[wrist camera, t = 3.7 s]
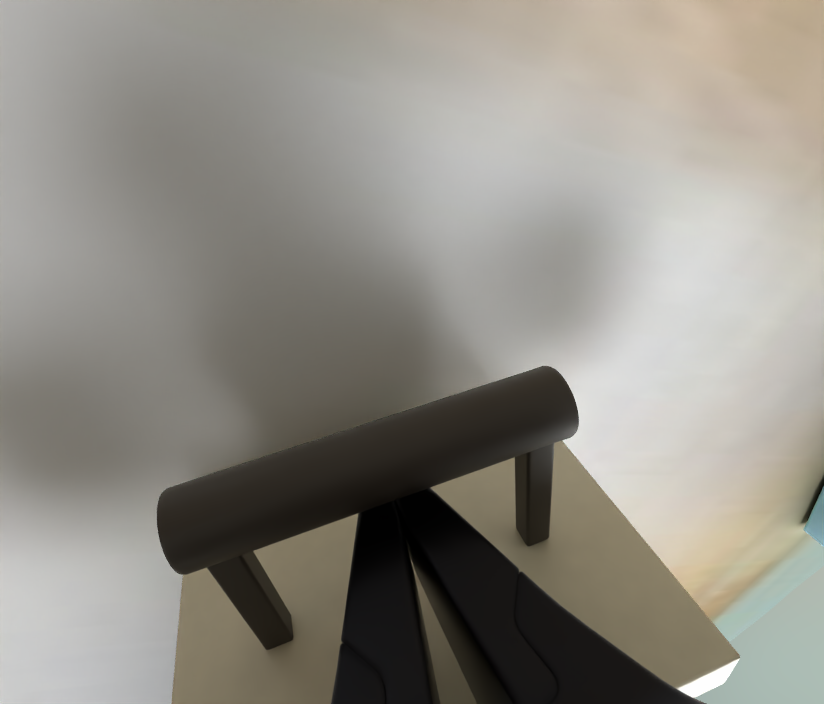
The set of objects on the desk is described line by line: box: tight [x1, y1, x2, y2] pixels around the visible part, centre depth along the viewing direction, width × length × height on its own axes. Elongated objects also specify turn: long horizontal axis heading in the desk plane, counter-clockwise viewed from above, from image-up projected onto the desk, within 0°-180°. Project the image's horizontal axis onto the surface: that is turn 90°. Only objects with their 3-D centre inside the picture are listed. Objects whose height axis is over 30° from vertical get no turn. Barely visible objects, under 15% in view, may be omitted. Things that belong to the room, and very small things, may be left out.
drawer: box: [157, 366, 740, 704], centre depth 13 cm, size 17×10×8 cm, turn 8°
